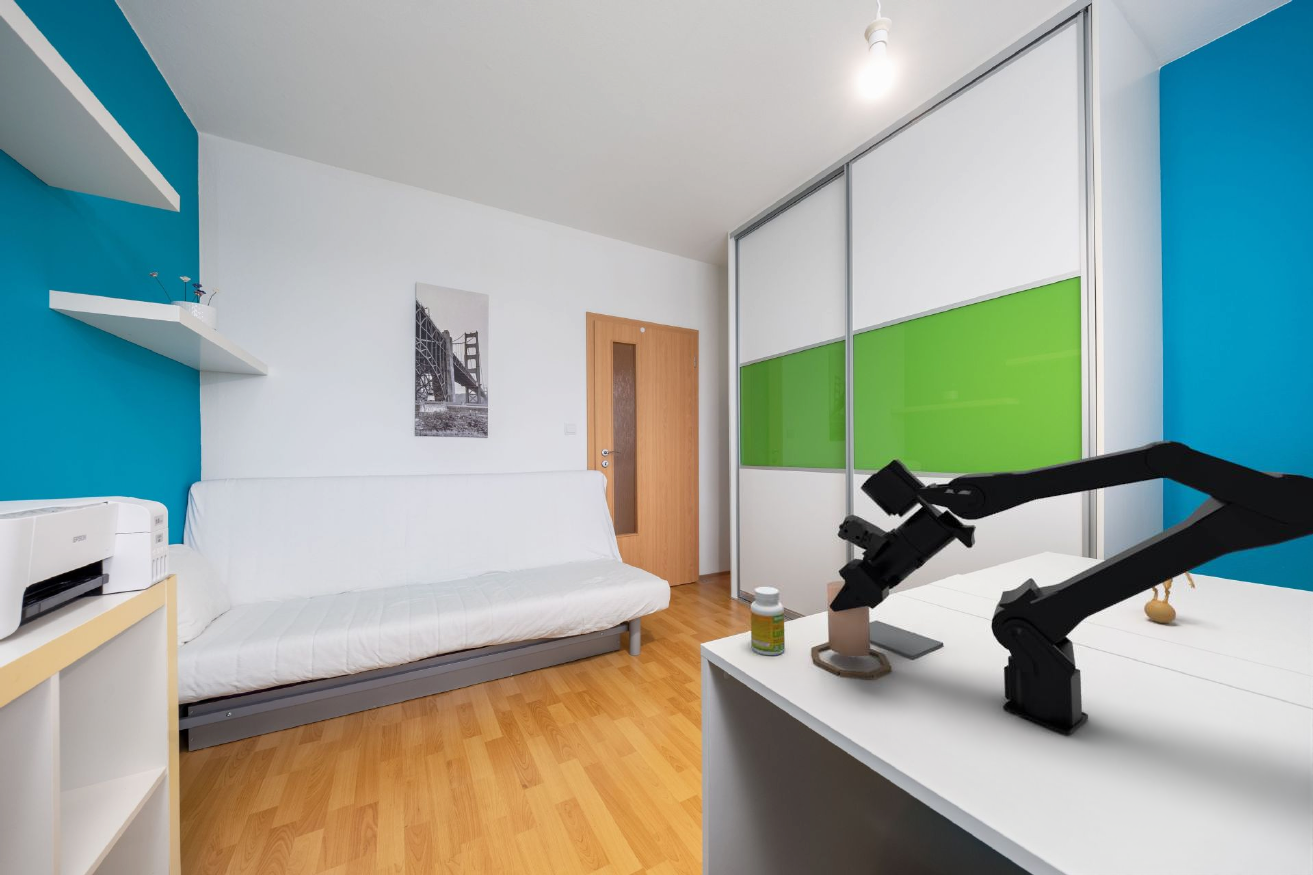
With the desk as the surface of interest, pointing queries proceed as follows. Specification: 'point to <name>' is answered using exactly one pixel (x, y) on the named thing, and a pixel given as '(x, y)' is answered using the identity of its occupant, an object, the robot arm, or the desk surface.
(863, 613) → the peach cylinder
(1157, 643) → the desk surface
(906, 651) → the rubber mat
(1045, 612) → the robot arm
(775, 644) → the supplement bottle
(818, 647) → the coaster ring
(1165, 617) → the figurine
